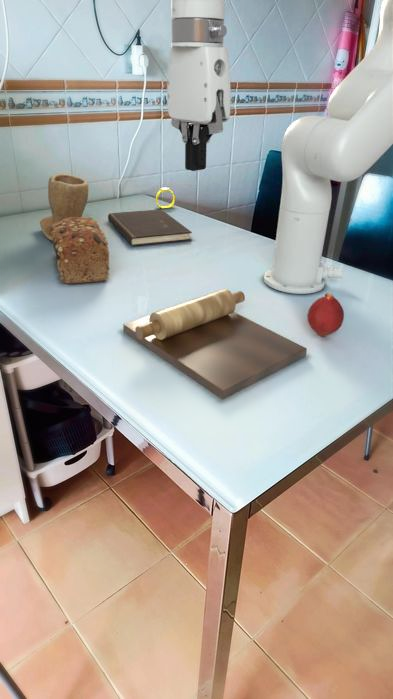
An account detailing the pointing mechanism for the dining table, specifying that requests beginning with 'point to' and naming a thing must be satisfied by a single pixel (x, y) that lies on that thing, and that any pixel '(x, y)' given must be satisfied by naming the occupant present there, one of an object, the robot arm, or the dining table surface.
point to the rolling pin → (190, 314)
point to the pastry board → (223, 352)
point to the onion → (325, 315)
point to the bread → (80, 250)
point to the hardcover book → (149, 227)
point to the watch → (165, 191)
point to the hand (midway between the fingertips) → (195, 169)
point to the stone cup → (64, 199)
